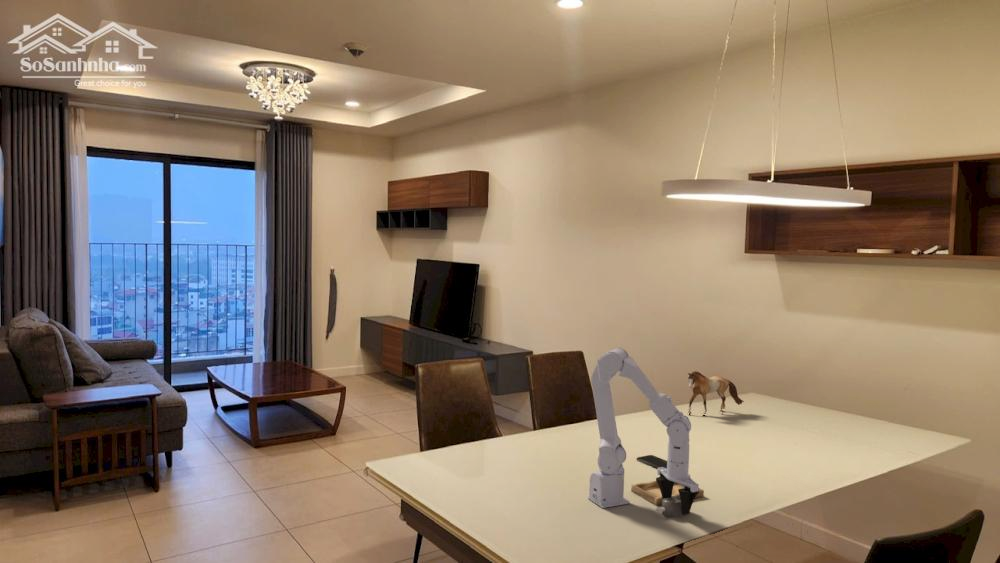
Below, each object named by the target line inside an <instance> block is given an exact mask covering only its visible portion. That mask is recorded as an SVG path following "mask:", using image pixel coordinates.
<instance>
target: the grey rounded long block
mask: <svg viewBox="0 0 1000 563" xmlns="http://www.w3.org/2000/svg"><path fill="white" fill-rule="evenodd" d="M655 511H658V512H659V513H660V512H661V515H662V516H663V517H666V518H669V519H670V518H671V519H672V518H677V517H678V518H679V517H682V516H687V515H690V512H691V511H690V512H689V514H685V515H683V514H682V512H681V498H680V496H675V497H669V498H664V499H663V502H662V505H661V506H659V507H658V506H657V507H656V510H655Z"/></svg>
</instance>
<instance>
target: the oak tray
mask: <svg viewBox="0 0 1000 563" xmlns="http://www.w3.org/2000/svg"><path fill="white" fill-rule="evenodd" d="M683 488H684V486H682V485H680V484H678V483H676V482H674V485H673V490H672V497H675V496H680V494H679V491H678V489H683ZM698 490H699V493H698V495H697V496H696V498H695V499H701V498H704V494H705V493H704V491H705V490H704V489H701V488H700V487H698ZM631 492H632V493H634V494H635V495H637V496H638V497H640V498H642V499H643V500H646V501H648V502H649V503H651V504H652V505H654V506H657V507H658V506H662V502H663V499H662V494H661V490H660V487H659V485H658V483H657V481H656V480H654V481H647V482H640V483H635V484H631ZM695 499H694V500H695Z"/></svg>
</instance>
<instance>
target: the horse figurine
mask: <svg viewBox="0 0 1000 563" xmlns="http://www.w3.org/2000/svg"><path fill="white" fill-rule="evenodd" d="M687 374H688V377H687V378H688V381H689V383H688V384H689V385H688V387H689V389H691V390H692V393H691V396H690V399H689V403H688V404H689V405H688V409H687V411H688V412H687V414H688V413H689V414H691V415H692V411H691V409H692V408H691V407H692V404H693V402H694V400H695V399H696V398H697V396H699V395H701V396H702V400H703V404H702V405H703V406H704V411H703V413H702V414H706V415H707V411H708V409H707V394H713V393H717V395H718V396H719V397H720V398H721V405H720V410H719V413H720V412H723V413H724V411H723V410H722V409H726V403H725V402H726V395H725V392H726V391H727V389H728V393H729V394H730V397H731V398H732V399H733V400H734V402H735V403H736V404H737V405H738V406H741V405H742V404H743V403H744V402H745V401H744V400H743V399H742V398H740V397H739V396H738V389H737V387H736V385H735V384H734V383H733V382H732V381H731V380H729V379H727V378H725V377H722V376H720V375H714V376H711V377H706V376H705V375H703V374H702V373H701V372H699V371H697V370H696V371H693V372H691V373H689V372H688V373H687Z"/></svg>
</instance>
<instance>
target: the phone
mask: <svg viewBox="0 0 1000 563" xmlns="http://www.w3.org/2000/svg"><path fill="white" fill-rule="evenodd" d="M636 461H637V462H639V463H641V464H643V465H646V466H648V467H650V466H651V468H652V469H655V470H657V469H658V468H660V467H664V468H667V460H666V459H664V458H661V457H658V456H656V455H653V454H648V455H644V456H638V457H636Z"/></svg>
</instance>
